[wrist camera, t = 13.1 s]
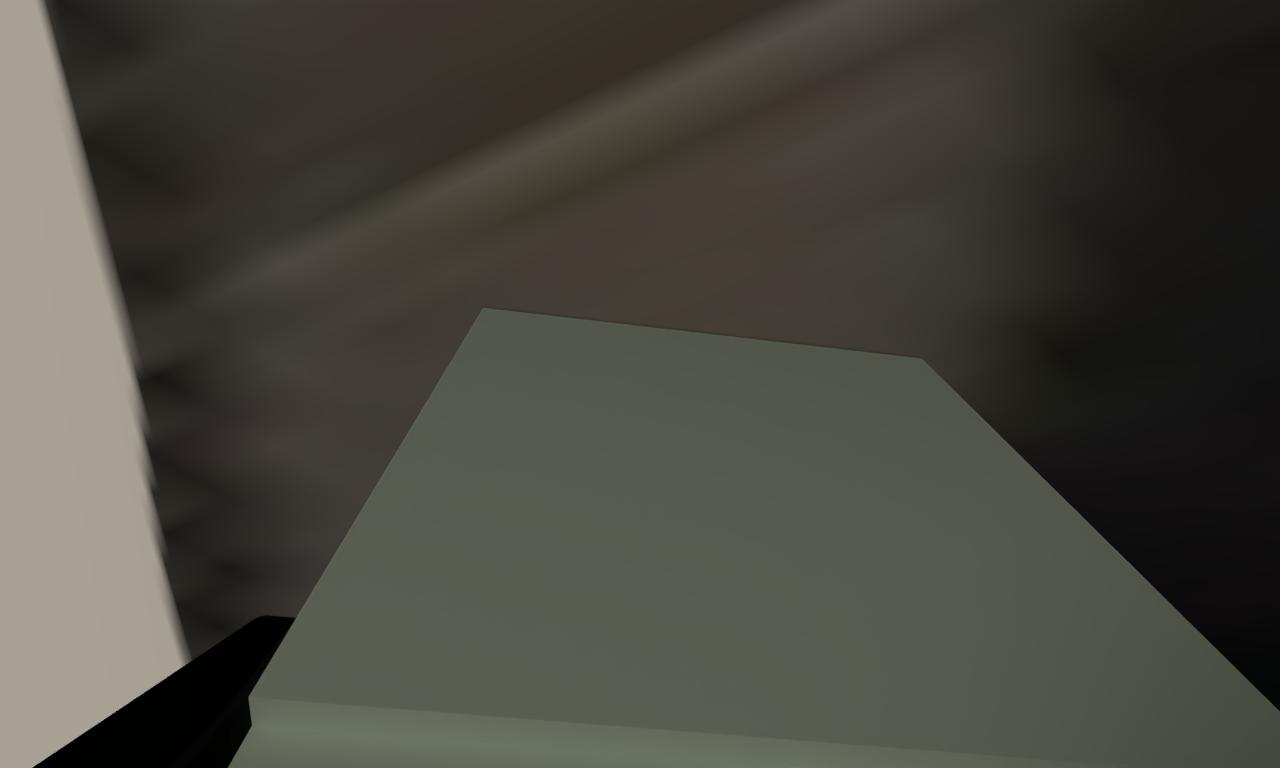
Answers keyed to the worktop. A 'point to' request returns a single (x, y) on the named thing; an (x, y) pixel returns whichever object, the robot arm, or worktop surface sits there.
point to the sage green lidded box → (730, 581)
